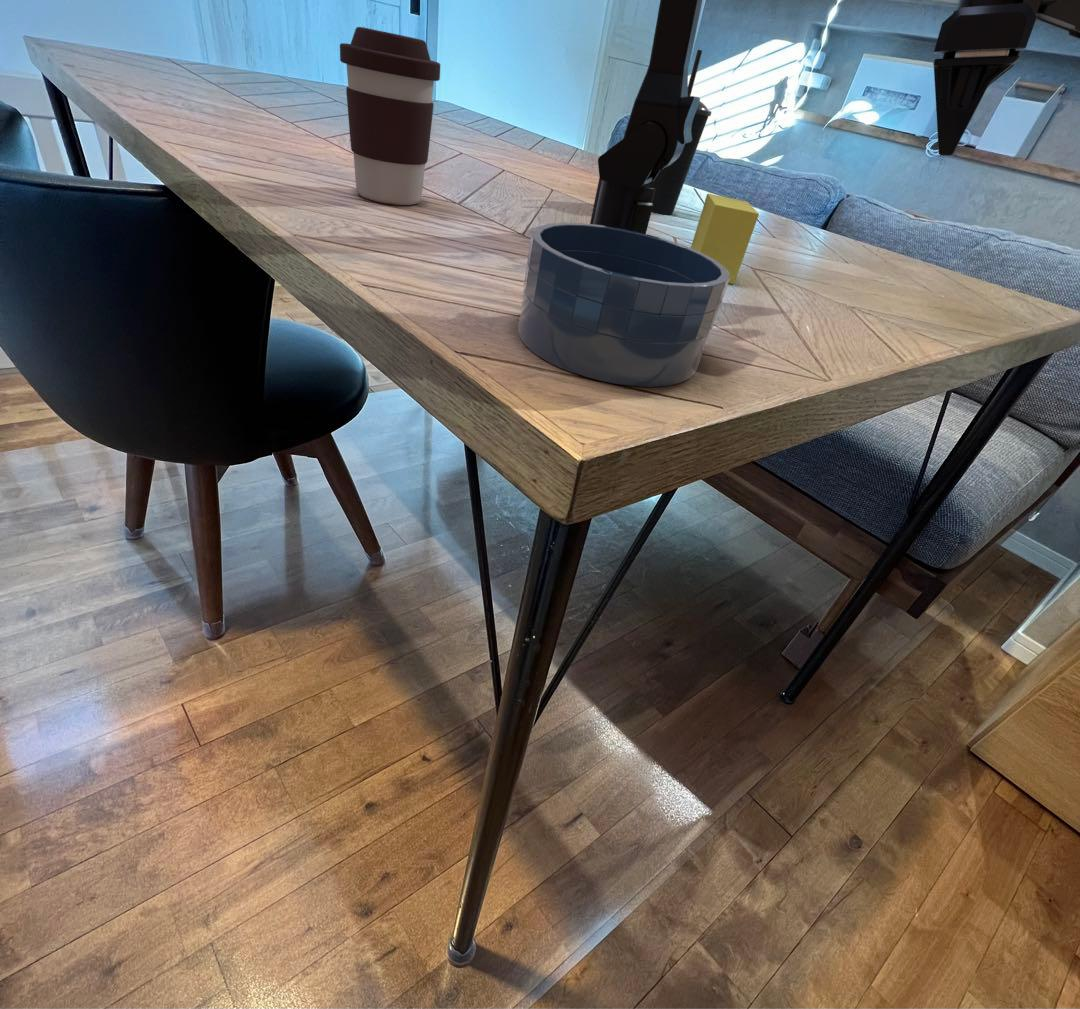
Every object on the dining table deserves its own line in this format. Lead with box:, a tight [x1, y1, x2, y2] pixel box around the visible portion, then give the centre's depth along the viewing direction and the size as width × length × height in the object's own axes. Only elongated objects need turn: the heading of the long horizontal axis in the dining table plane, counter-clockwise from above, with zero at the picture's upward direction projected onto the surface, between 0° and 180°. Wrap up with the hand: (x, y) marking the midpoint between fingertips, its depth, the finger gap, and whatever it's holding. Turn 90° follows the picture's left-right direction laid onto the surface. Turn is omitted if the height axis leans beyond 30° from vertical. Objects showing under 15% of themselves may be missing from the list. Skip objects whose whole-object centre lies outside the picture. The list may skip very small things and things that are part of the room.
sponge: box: [690, 193, 760, 285], centre depth 63 cm, size 7×4×7 cm, turn 173°
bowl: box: [517, 222, 730, 388], centre depth 41 cm, size 13×13×6 cm
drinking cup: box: [648, 49, 712, 216], centre depth 85 cm, size 8×8×20 cm
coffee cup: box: [339, 26, 441, 206], centre depth 63 cm, size 10×10×15 cm
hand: (947, 152), depth 57 cm, fingers open, 9 cm apart
